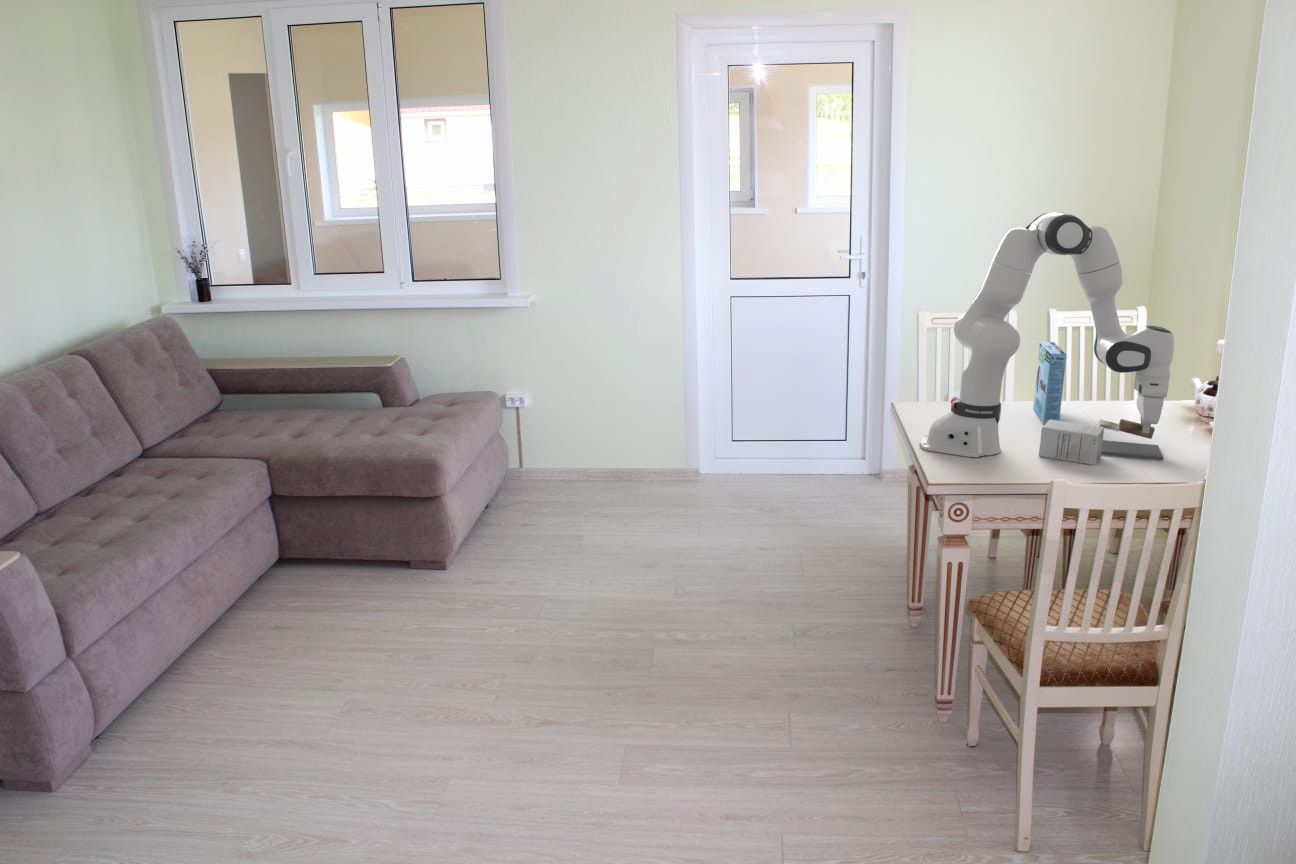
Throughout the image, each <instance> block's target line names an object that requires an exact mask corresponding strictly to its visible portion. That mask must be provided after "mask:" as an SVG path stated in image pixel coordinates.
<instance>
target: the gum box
mask: <svg viewBox="0 0 1296 864" xmlns="http://www.w3.org/2000/svg"><path fill="white" fill-rule="evenodd" d="M1038 347H1039V348H1038V358H1037V369H1036V378H1035V387H1034V388H1035V389H1034V397H1033V407H1032V409H1033V412H1034V413H1035V414H1036V415H1037V418H1038V419H1039V420H1040V421H1041V423H1042V425H1045V423H1047V422H1048V421H1049V420H1056V421H1060V417H1061V409H1062V408H1061V407H1062V401H1063V400H1062V398H1063V392H1064V391H1063V390H1064V381H1065V374H1066V373H1065V371H1066V363H1067V353H1065V352H1064V351H1063V350H1062V348H1060V347H1059V346H1058V345H1057V344H1056V342H1054V341H1039V346H1038Z"/></svg>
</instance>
